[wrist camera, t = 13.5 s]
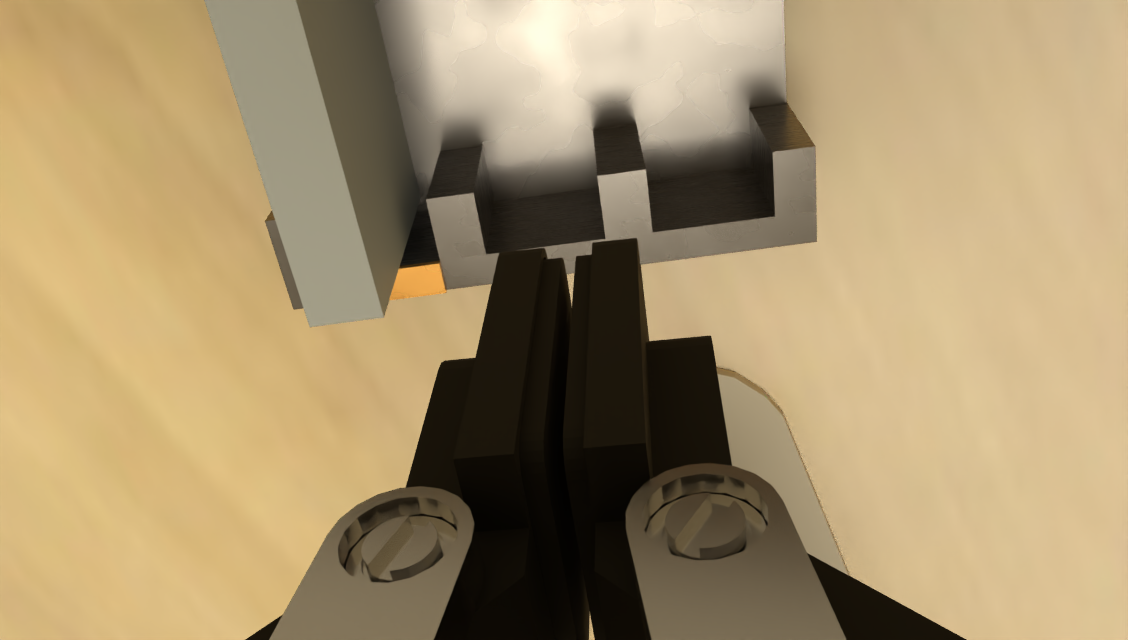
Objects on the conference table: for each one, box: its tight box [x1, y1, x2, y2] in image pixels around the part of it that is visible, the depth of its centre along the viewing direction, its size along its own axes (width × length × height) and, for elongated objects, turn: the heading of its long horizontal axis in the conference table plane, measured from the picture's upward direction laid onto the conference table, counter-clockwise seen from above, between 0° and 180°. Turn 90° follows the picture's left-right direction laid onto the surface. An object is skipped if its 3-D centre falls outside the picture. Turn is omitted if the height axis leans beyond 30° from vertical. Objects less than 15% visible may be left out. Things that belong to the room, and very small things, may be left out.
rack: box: [265, 0, 817, 309], centre depth 28 cm, size 16×14×5 cm
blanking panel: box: [204, 0, 421, 327], centre depth 26 cm, size 2×11×8 cm, turn 8°
